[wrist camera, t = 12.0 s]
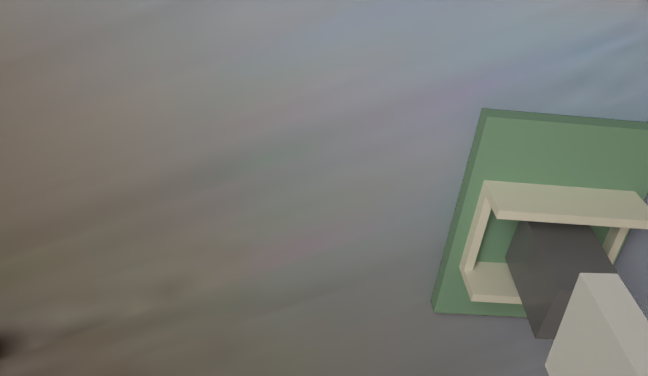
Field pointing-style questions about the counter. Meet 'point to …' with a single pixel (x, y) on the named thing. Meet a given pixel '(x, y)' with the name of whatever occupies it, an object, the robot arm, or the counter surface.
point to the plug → (552, 268)
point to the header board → (538, 198)
